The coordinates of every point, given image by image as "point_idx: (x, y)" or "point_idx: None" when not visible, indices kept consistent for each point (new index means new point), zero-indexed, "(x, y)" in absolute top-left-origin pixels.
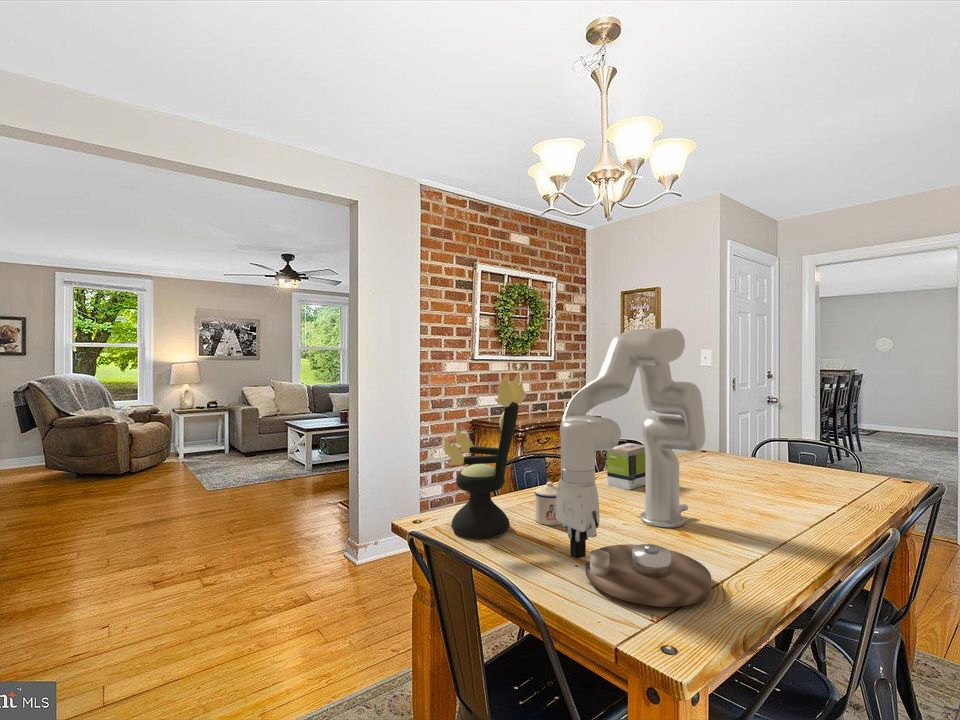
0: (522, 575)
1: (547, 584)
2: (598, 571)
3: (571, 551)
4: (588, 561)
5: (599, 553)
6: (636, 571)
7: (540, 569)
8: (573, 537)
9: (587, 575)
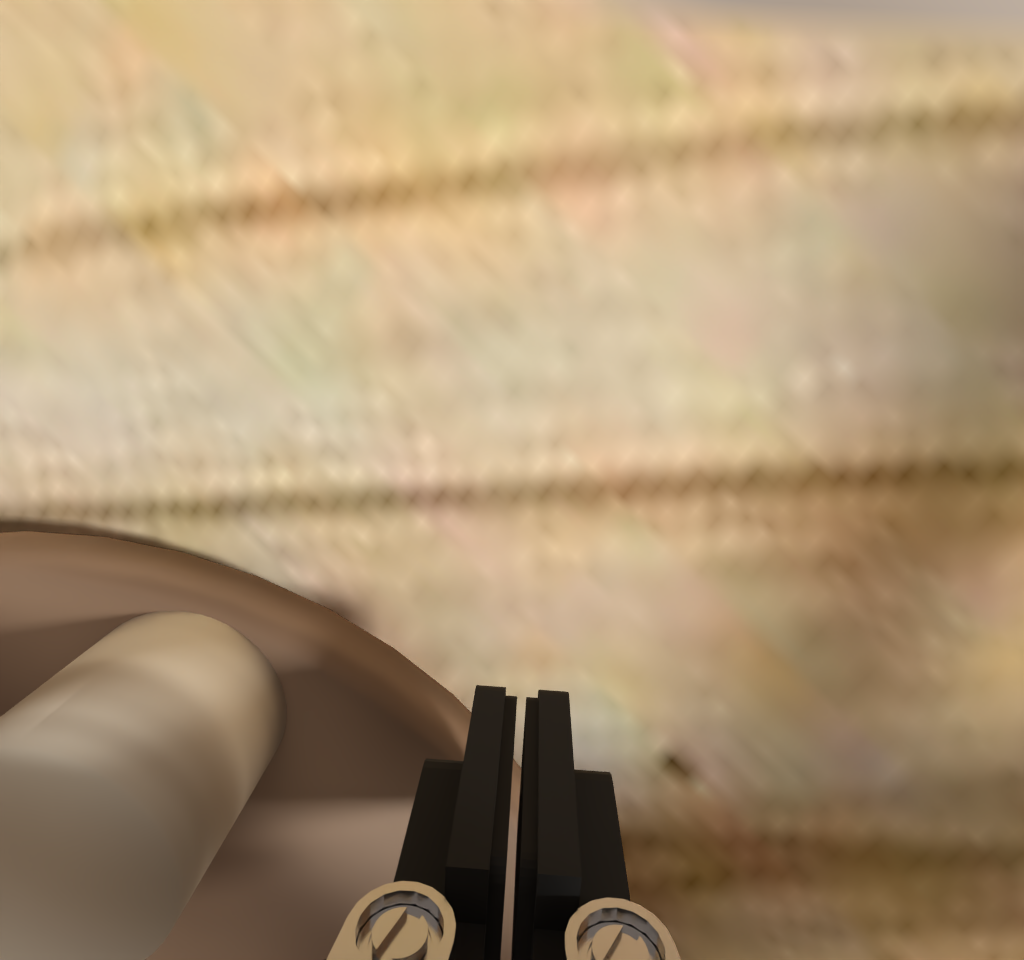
0: (896, 178)
1: (564, 268)
2: (85, 653)
3: (546, 731)
4: None
5: (44, 873)
6: None
7: (858, 447)
8: (563, 958)
9: (344, 632)
